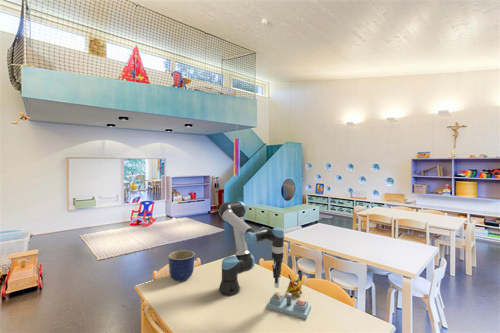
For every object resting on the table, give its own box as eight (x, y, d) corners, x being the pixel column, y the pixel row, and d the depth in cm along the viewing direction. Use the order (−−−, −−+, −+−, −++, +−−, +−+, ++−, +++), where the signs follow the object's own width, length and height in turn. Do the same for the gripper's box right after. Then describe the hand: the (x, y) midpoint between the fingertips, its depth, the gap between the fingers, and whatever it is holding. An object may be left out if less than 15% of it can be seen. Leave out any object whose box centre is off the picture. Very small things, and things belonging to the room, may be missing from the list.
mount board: (266, 307, 161) (266, 299, 161) (273, 298, 172) (273, 291, 172) (306, 319, 149) (306, 310, 149) (311, 309, 160) (311, 300, 160)
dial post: (285, 305, 160) (285, 294, 160) (287, 302, 163) (287, 292, 163) (290, 306, 158) (290, 296, 158) (292, 303, 161) (292, 293, 161)
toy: (302, 297, 170) (291, 276, 173) (289, 301, 174) (279, 281, 177) (306, 288, 182) (296, 269, 186) (294, 292, 186) (285, 273, 189)
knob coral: (296, 312, 156) (296, 301, 156) (298, 308, 160) (298, 297, 160) (303, 314, 154) (303, 302, 154) (305, 310, 158) (305, 299, 158)
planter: (162, 279, 199) (162, 255, 198) (182, 270, 216) (182, 248, 216) (180, 286, 188) (180, 261, 188) (199, 276, 205) (199, 253, 205)
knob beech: (272, 305, 163) (272, 294, 163) (275, 302, 167) (275, 291, 167) (279, 307, 161) (279, 296, 161) (281, 303, 165) (281, 293, 165)
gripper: (279, 256, 156) (278, 293, 157) (286, 249, 168) (285, 284, 169) (268, 254, 160) (267, 290, 160) (275, 247, 171) (274, 281, 172)
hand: (276, 287), depth 164 cm, fingers closed
